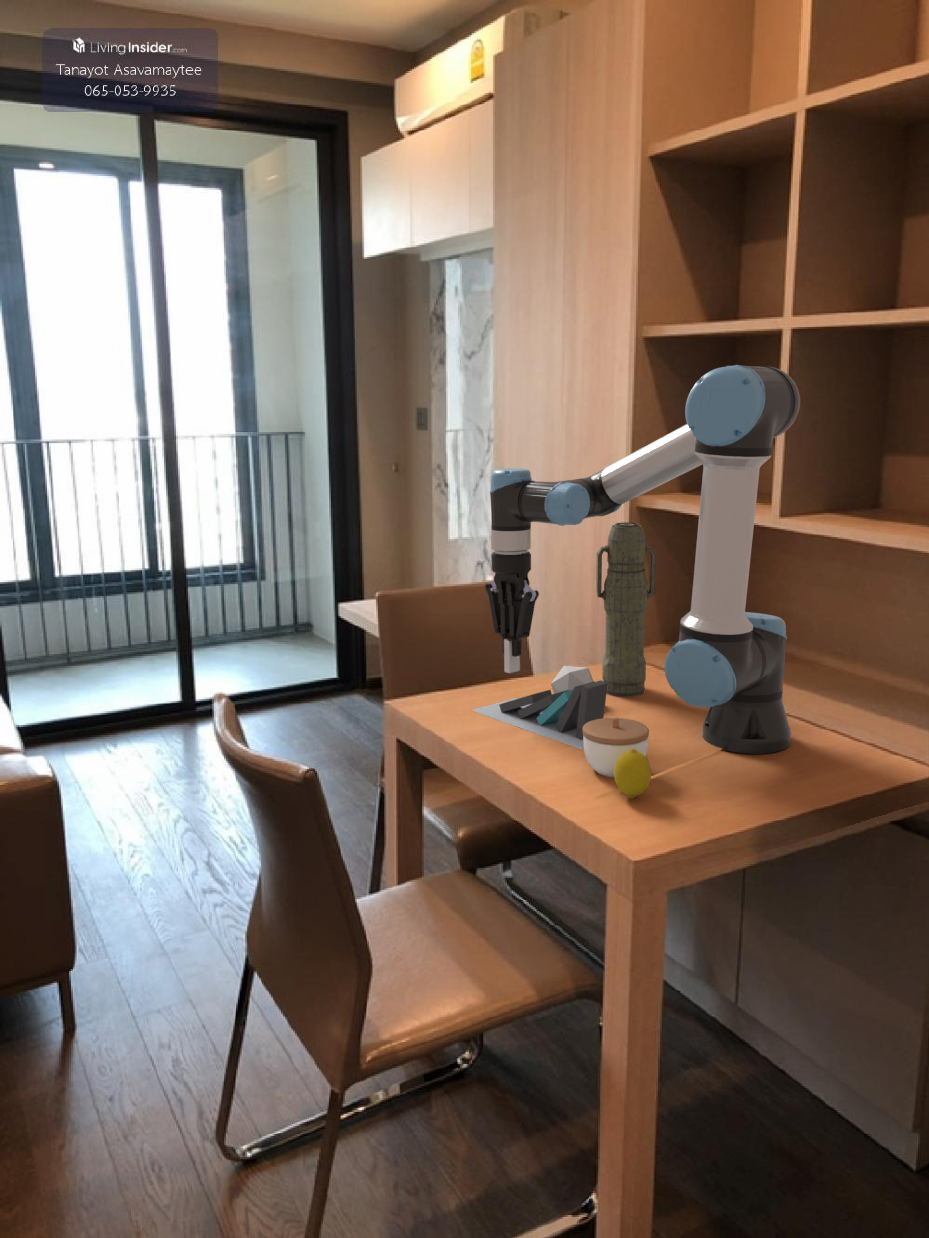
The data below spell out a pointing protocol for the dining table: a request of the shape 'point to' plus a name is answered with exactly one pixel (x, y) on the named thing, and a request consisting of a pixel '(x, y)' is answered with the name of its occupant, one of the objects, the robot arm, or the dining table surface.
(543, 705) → the domino
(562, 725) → the domino
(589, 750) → the lidded jar
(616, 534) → the thermos
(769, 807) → the dining table surface
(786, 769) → the dining table surface
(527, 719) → the mat
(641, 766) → the lemon
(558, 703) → the teal domino
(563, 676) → the die
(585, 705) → the domino
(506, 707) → the domino
